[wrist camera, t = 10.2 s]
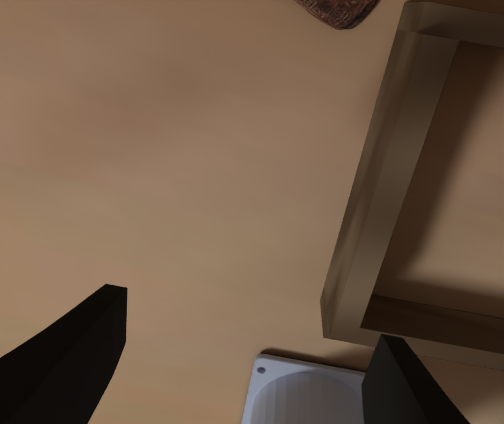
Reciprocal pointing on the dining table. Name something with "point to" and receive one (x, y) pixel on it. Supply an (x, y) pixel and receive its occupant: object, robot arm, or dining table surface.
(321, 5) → the wooden tablet
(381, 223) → the rack
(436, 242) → the dining table surface
